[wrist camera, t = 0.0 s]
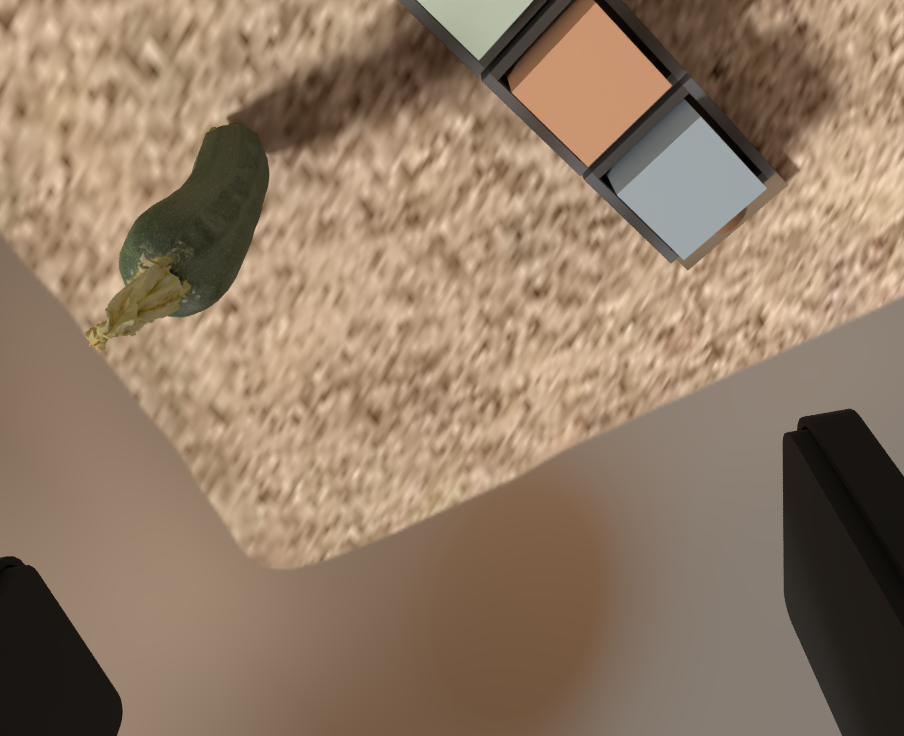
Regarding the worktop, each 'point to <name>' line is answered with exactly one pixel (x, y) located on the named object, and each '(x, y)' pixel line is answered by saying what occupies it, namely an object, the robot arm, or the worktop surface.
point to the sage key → (476, 20)
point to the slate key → (684, 180)
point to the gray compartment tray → (526, 31)
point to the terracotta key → (585, 80)
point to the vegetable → (191, 237)
